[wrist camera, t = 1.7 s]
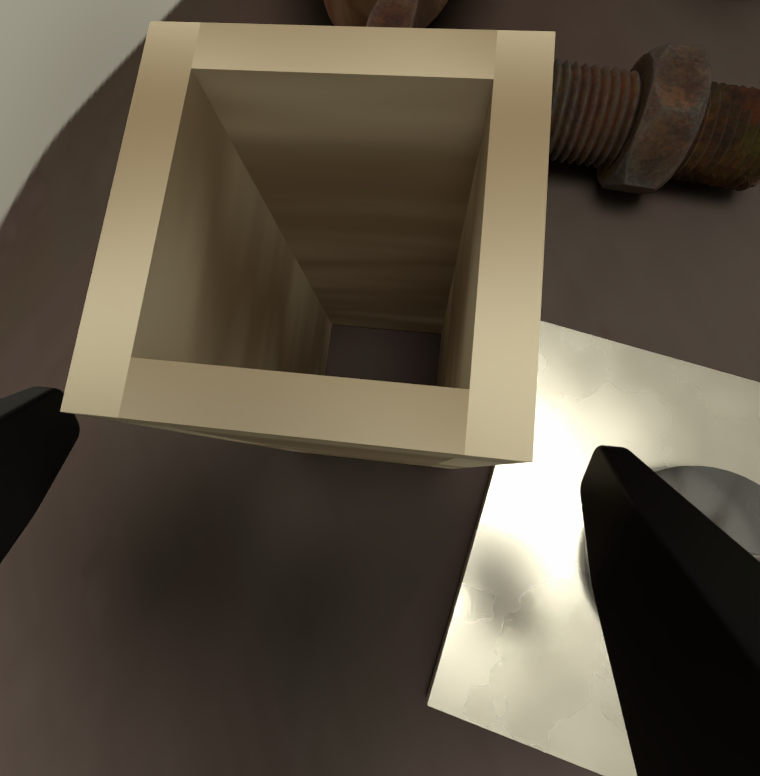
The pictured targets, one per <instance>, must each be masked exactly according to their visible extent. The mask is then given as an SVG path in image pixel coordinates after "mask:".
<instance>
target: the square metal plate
mask: <svg viewBox="0 0 760 776" xmlns="http://www.w3.org/2000/svg"><path fill="white" fill-rule="evenodd" d="M600 445H608V446H617V447H624V448H627V449H628V450H630V451H631V452H632V453H633V454H634V455H636V456H637V457H638V458H639V459H640V460H641V461H643V462H644V463H645V464H646V465H647V466H648V467H650V468H651V469H652V470H653V471H654V472H655V473H657V474H658V475H659V476H660V477H661V478H663V479H664V480H665V481H666V482H667V483H668V484H670V485H671V486H672V487H673V488H674V489H675V490H677V491H678V492H679V493H680V494H681V495H682V496H684V497H685V498H686V499H687V500H688V501H689V502H691V503H692V504H693V505H694V506H695V507H696V508H698V509H699V510H700V511H701V512H702V513H703V514H705V515H706V516H707V517H708V518H709V519H710V520H712V521H713V522H714V523H715V524H716V525H717V526H719V527H720V528H721V529H722V530H723V531H724V532H726V533H727V534H728V535H729V536H730V537H731V538H733V539H734V540H735V541H736V542H737V543H738V544H740V545H741V546H742V547H743V548H744V549H745V550H747V551H748V552H749V553H750V554H751V555H753V556H754V557H755V558H756V559H757V560H758V561H760V383H759V382H756V381H752V380H749V379H745V378H742V377H738V376H735V375H731V374H728V373H724V372H720V371H717V370H713V369H710V368H706V367H703V366H699V365H696V364H692V363H689V362H685V361H681V360H678V359H674V358H671V357H667V356H664V355H660V354H657V353H653V352H649V351H646V350H642V349H639V348H635V347H632V346H628V345H625V344H621V343H618V342H614V341H610V340H607V339H603V338H600V337H596V336H593V335H589V334H586V333H582V332H578V331H575V330H571V329H568V328H564V327H561V326H557V325H554V324H550V323H547V322H543V321H540V334H539V353H538V372H537V392H536V411H535V430H534V449H533V462H531V463H518V464H505V465H493V467H492V471H491V474H490V478H489V481H488V484H487V488H486V491H485V495H484V498H483V502H482V505H481V509H480V512H479V516H478V519H477V523H476V526H475V530H474V533H473V537H472V540H471V544H470V547H469V551H468V554H467V558H466V561H465V565H464V568H463V572H462V575H461V578H460V582H459V585H458V589H457V592H456V596H455V599H454V603H453V606H452V610H451V613H450V617H449V620H448V624H447V627H446V631H445V634H444V638H443V641H442V645H441V648H440V652H439V655H438V659H437V662H436V666H435V669H434V672H433V676H432V679H431V683H430V686H429V690H428V693H427V706H430V707H432V708H435V709H437V710H440V711H443V712H445V713H448V714H450V715H453V716H455V717H458V718H460V719H463V720H465V721H468V722H470V723H473V724H475V725H478V726H480V727H483V728H485V729H488V730H490V731H493V732H495V733H498V734H500V735H503V736H505V737H508V738H510V739H513V740H515V741H518V742H520V743H523V744H526V745H528V746H531V747H533V748H536V749H538V750H541V751H543V752H546V753H548V754H551V755H553V756H556V757H558V758H561V759H563V760H566V761H568V762H571V763H573V764H576V765H578V766H581V767H583V768H586V769H588V770H591V771H593V772H596V773H598V774H601V775H604V776H637V773H636V769H635V765H634V761H633V757H632V752H631V748H630V744H629V740H628V736H627V732H626V728H625V723H624V719H623V715H622V711H621V707H620V703H619V699H618V694H617V690H616V686H615V682H614V678H613V674H612V670H611V665H610V661H609V657H608V653H607V649H606V645H605V641H604V637H603V632H602V628H601V624H600V620H599V616H598V612H597V608H596V603H595V599H594V594H593V590H592V585H591V578H590V571H589V564H588V555H587V547H586V539H585V531H584V522H583V514H582V506H581V498H580V486H581V481H582V478H583V476H584V474H585V471H586V469H587V466H588V464H589V461H590V459H591V456H592V454H593V452H594V450H595V449H596V447H598V446H600Z"/></svg>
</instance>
